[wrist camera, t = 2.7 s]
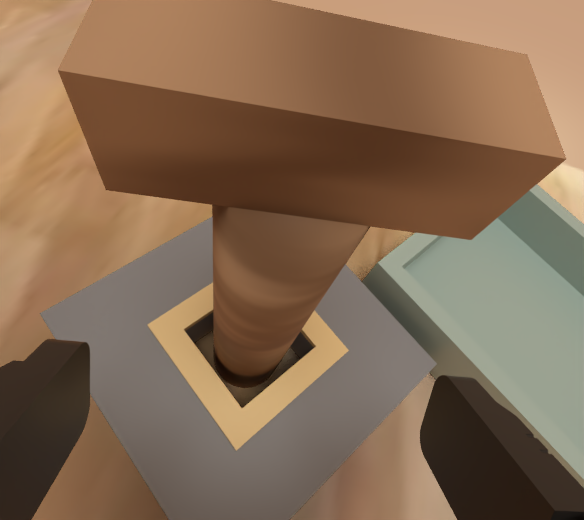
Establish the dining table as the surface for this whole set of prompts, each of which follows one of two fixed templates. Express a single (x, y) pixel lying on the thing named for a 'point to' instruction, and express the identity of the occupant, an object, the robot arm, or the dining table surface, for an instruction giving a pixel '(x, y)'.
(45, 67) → the dining table surface
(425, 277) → the tray
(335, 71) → the t key
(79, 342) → the robot arm
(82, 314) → the plate
